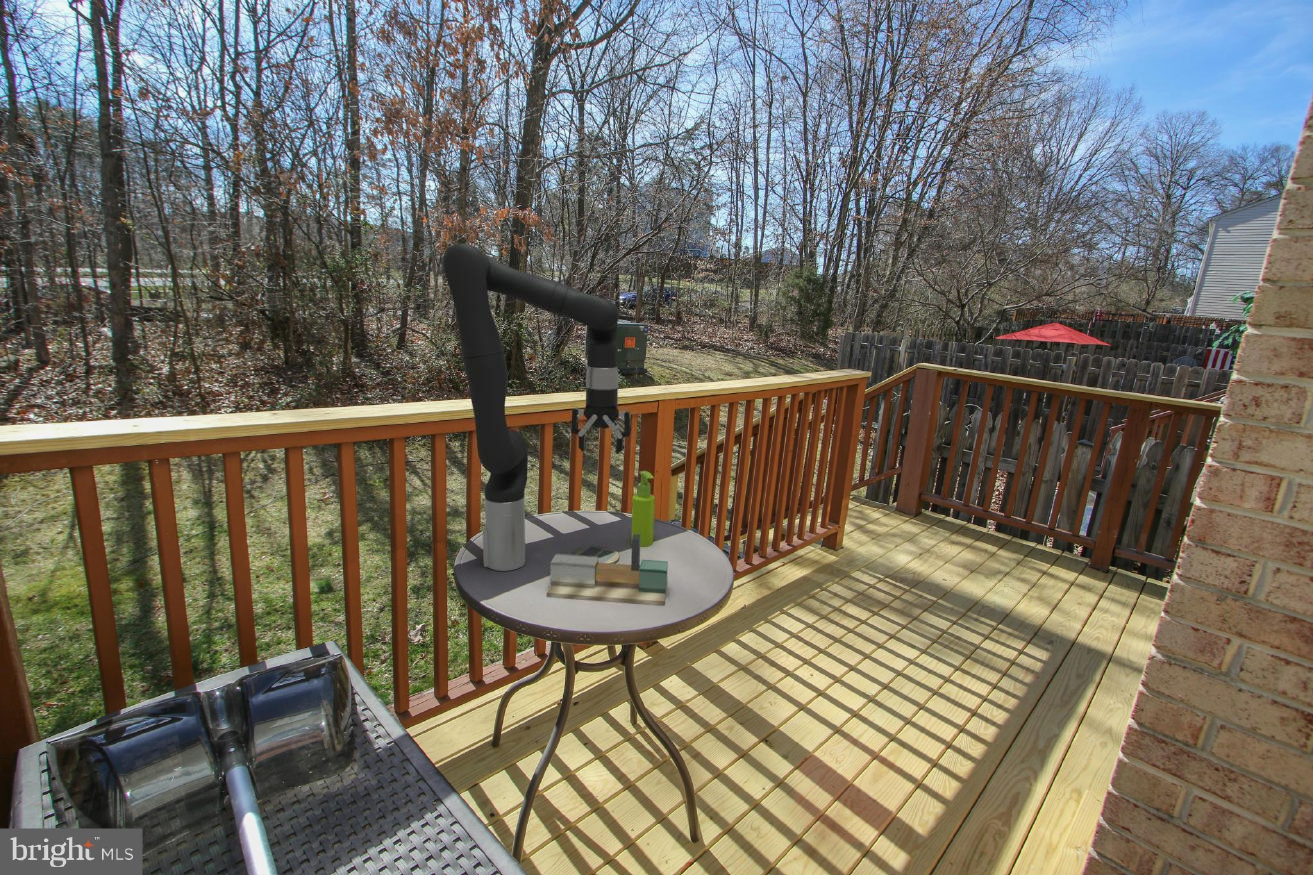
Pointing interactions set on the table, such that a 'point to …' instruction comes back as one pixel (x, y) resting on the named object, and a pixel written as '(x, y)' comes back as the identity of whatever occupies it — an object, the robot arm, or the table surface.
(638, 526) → the soap dispenser
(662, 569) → the socket block
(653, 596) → the base board
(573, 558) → the outer sleeve
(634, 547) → the inner bar
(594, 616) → the table surface
